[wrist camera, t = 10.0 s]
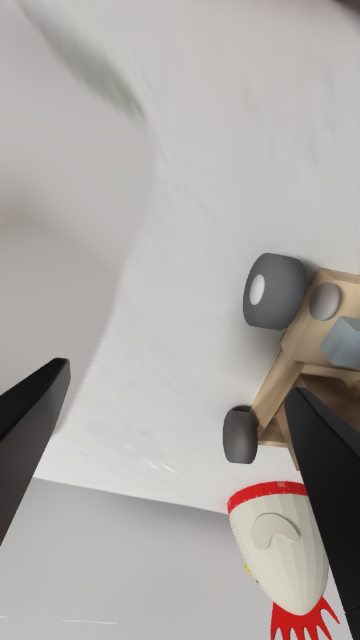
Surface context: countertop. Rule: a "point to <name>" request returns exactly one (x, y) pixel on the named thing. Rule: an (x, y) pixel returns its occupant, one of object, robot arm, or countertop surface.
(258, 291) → the wheel
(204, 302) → the countertop surface
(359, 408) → the block
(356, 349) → the chassis
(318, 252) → the countertop surface
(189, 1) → the countertop surface
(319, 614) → the kitchen timer
